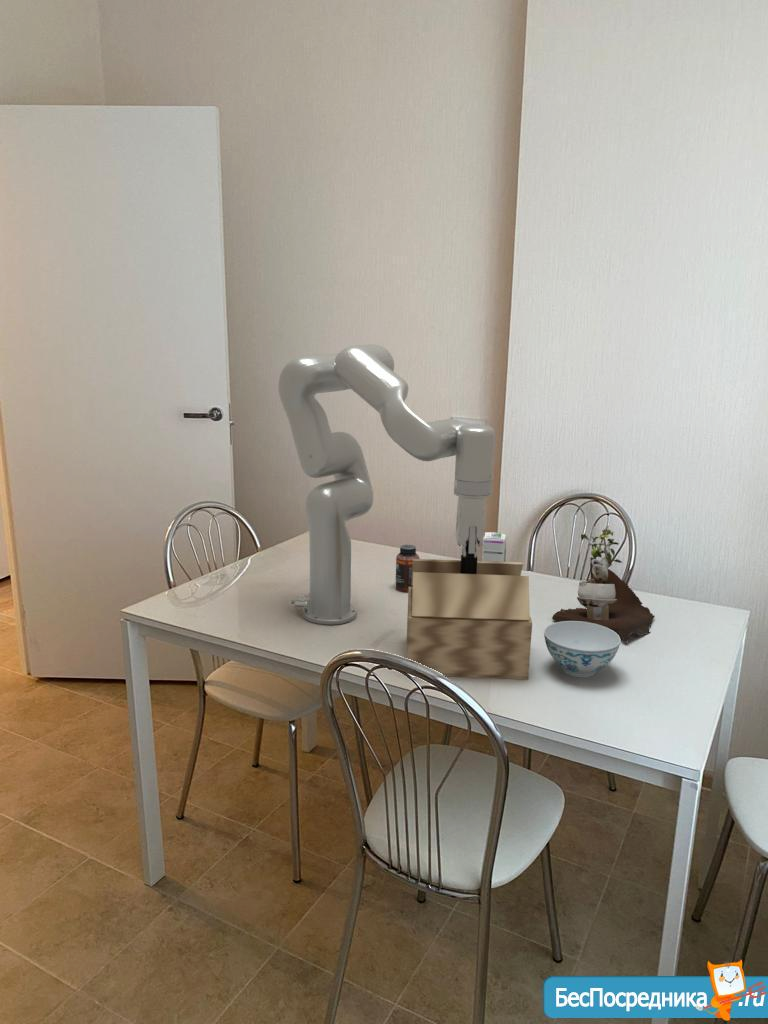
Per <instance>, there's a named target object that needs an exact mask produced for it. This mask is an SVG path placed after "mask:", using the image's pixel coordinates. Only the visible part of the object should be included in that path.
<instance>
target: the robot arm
mask: <svg viewBox="0 0 768 1024" xmlns="http://www.w3.org/2000/svg"><path fill="white" fill-rule="evenodd" d="M394 361H395V360H394V358H393V356H392V354H391V353H390V352H389V350H388V349H387V348H386V347H383V346H382V345H379V344H357V345H350V346H348V347H344V348H343V349H341V350H340V351H339V352H338V353H337V352H336V353H321V354H307V355H301V356H298V357H295V358H293V359H291V360H290V361H289V362H288V363H286V364H285V365H284V367H283V368H282V370H281V372H280V375H279V378H278V387H277V388H278V394H279V398H280V402H281V404H282V407H283V410H284V413H286V417H287V420H288V422H289V427H290V429H291V434H292V438H293V442H294V446H295V448H296V452H297V455H298V459H299V460H298V461H299V464H300V466H301V469H302V472H304V474H305V475H306V476H307V477H309V478H314V479H320V478H326V477H327V478H328V477H331V476H333V477H334V480H332V481H327V482H325V483H321V484H318V485H317V486H316V487H313V489H311V490H310V491H309V493H308V494H307V496H306V499H305V504H304V505H305V506H304V507H305V514H306V519H307V526H308V531H309V532H308V535H309V536H308V537H309V592H308V595H304V596H299V595H291V596H290V605H294V608H303V609H302V615H303V618H304V619H305V620H307V621H308V622H311V623H314V624H318V625H331V626H333V625H340V624H341V625H342V624H347V623H349V622H351V621H353V620H355V618H356V617H357V615H358V613H357V612H358V611H357V610H358V609H357V608H356V607H355V606H354V605H352V604H351V594H352V593H351V592H352V591H351V590H352V589H351V587H352V583H351V581H352V580H351V579H352V539H351V535H350V532H349V530H348V527H347V524H346V522H347V521H348V522H349V521H351V520H353V519H356V518H359V517H362V516H364V515H365V514H367V513H368V512H369V511H370V510H371V508H372V506H373V503H374V491H373V490H374V489H373V486H372V483H371V479H370V475H369V471H368V468H367V463H366V460H365V457H364V453H363V450H362V447H361V445H360V443H359V442H358V440H357V439H356V437H354V436H353V435H351V434H350V433H348V432H344V431H336V432H335V431H334V432H333V431H332V430H331V426H330V424H329V420H328V416H327V413H326V411H325V409H324V408H323V406H322V405H321V403H320V402H319V401H318V399H316V397H315V395H317V394H325V393H333V392H341V391H348V390H351V391H352V392H354V393H355V394H356V395H357V396H358V397H359V398H361V399H362V400H363V401H365V402H366V403H367V404H368V405H369V406H370V407H371V408H373V409H374V410H376V412H377V413H379V416H380V421H381V423H382V426H383V427H384V430H385V432H386V433H387V435H388V436H389V438H390V439H392V440H393V442H394V443H396V444H397V445H398V446H399V447H400V448H401V449H403V450H404V451H405V452H406V453H407V454H409V455H410V456H411V457H413V458H414V459H417V460H419V461H423V462H433V461H436V460H440V459H444V458H450V457H454V456H455V463H454V465H455V466H454V482H453V483H454V484H453V485H454V486H453V487H454V489H453V494H454V496H457V497H458V498H457V509H456V510H457V511H456V522H455V524H456V525H455V538H456V539H455V540H456V543H457V544H456V545H458V546H459V547H461V546H462V547H461V548H462V549H461V554H460V560H461V567H460V573H461V574H477V561H478V547H481V546H483V536H484V530H485V516H486V501H487V500H486V499H488V498H491V497H492V496H493V482H494V481H493V480H494V467H495V466H494V464H495V448H496V447H495V446H496V432H495V429H494V428H493V427H492V426H490V425H486V424H478V423H477V424H476V423H475V424H474V423H472V424H470V423H467V422H464V421H461V420H457V419H454V418H445V419H440V420H434V421H429V422H427V421H424V420H423V419H422V418H421V417H420V416H419V415H417V414H416V413H415V412H414V411H413V410H412V409H410V408H409V406H408V405H407V404H406V402H405V400H406V399H407V397H408V394H409V385H408V383H407V382H406V380H405V379H404V378H402V377H401V376H400V375H398V374H397V373H396V372H394V369H395V362H394Z"/></svg>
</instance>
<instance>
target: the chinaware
mask: <svg viewBox="0 0 768 1024" xmlns="http://www.w3.org/2000/svg"><path fill="white" fill-rule="evenodd" d="M543 634H544V641H545V645H546V648H547V650H548V653H549V655H550V656H551V658H552V659H553V660H554V661H555V662H556V663H557V664H558V665H559V666H561V669H562V672H564V673H565V674H567V675H569V676H572V677H574V678H575V677H576V678H590V677H593V676H595V675H596V673H597V671H600V670H602V669H603V668H605V667H607V666H608V665H609V664H610V663H611V662H612V660H613V659H614V658H615V656H616V654H617V653H618V650H619V649H620V646H621V639H622V638H621V636H620V634H619V633H618V632H617V633H616V632H614V631H613V630H611V629H609V628H607V627H604V626H601V625H598V624H594V623H589V622H582V621H562V622H559V621H557V622H554V623H551V624H549V625H547V626H546V627H545V628H544V630H543Z"/></svg>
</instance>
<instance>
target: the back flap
mask: <svg viewBox="0 0 768 1024" xmlns="http://www.w3.org/2000/svg"><path fill="white" fill-rule="evenodd" d="M460 567H461V559H459V560H458V559H432V558H431V559H429V558H426V559H425V558H424V559H423V558H419V559H413V565H412V583H411V585H413V572H425V573H454V574H461V573H460ZM523 567H524V563H523V562H521V561H519V562H517V561H515V562H514V561H505V562H494V561H482V560H477V574H483V575H513V576H522V570H523Z"/></svg>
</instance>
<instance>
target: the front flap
mask: <svg viewBox="0 0 768 1024" xmlns="http://www.w3.org/2000/svg"><path fill="white" fill-rule="evenodd" d="M529 577H530V576H529V575H521V576H513V575H483V574H454V573H425V572H413V592H412V616H416V617H445V618H473V619H502V620H530V618H531V614H530V613H531V612H530V578H529Z"/></svg>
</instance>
